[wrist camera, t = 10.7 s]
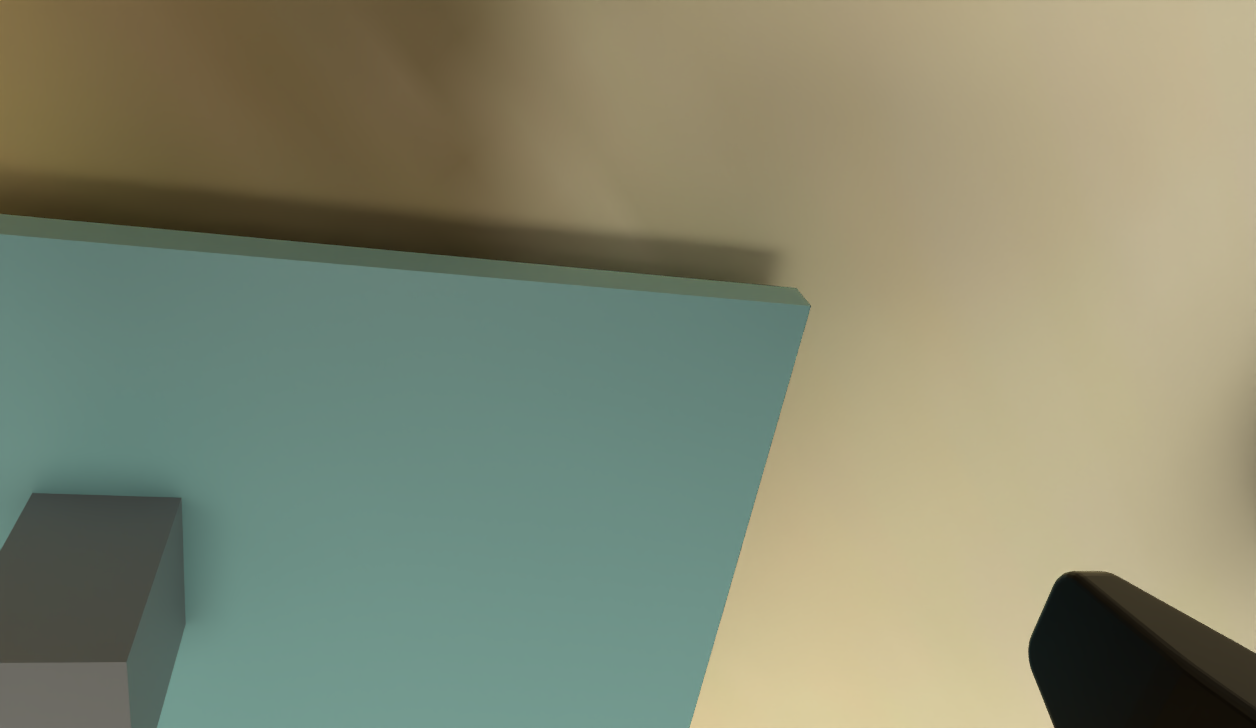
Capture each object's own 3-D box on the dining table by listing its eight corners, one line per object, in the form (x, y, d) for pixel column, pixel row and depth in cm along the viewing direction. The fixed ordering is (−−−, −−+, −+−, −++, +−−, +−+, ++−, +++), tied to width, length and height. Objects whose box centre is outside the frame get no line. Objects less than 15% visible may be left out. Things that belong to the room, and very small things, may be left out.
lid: (776, 263, 20) (902, 420, 15) (658, 711, 26) (719, 936, 21) (-44, 182, 16) (-251, 352, 11) (29, 723, 22) (-87, 1000, 17)
